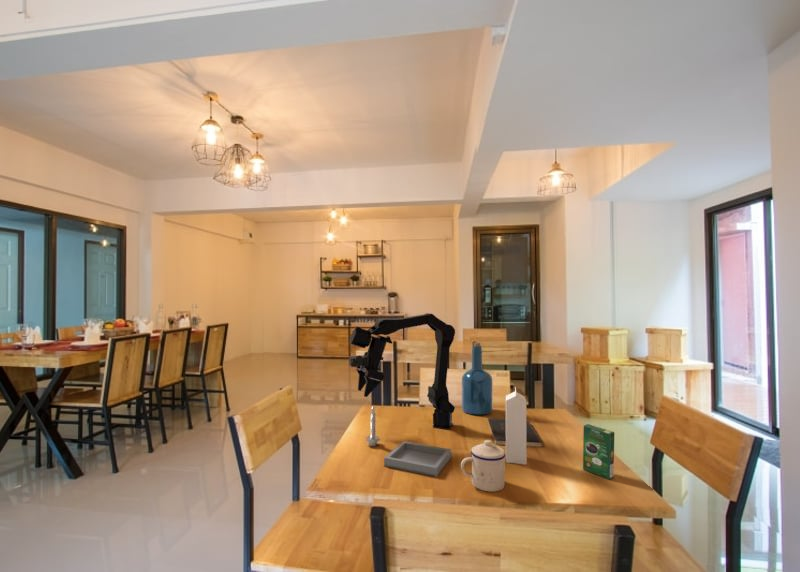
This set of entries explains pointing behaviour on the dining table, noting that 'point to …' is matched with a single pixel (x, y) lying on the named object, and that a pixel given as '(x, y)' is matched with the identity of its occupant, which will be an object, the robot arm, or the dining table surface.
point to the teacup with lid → (486, 466)
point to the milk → (515, 428)
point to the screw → (373, 430)
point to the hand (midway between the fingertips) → (362, 393)
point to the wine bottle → (477, 386)
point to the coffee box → (598, 451)
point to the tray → (418, 458)
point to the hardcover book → (500, 432)
